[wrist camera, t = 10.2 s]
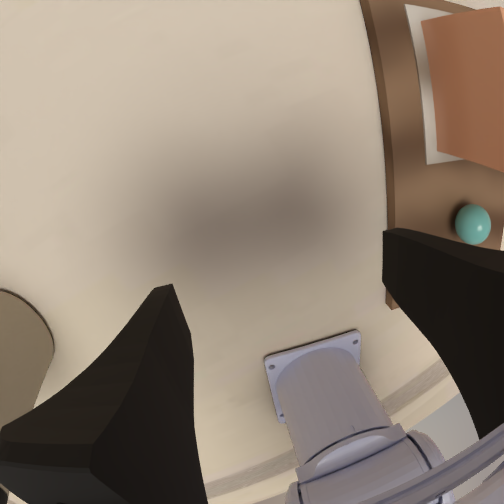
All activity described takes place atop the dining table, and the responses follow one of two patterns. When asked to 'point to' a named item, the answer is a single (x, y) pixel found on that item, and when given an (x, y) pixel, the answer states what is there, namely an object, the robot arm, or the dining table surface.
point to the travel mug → (20, 361)
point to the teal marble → (472, 224)
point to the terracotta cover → (468, 83)
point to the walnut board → (422, 130)
